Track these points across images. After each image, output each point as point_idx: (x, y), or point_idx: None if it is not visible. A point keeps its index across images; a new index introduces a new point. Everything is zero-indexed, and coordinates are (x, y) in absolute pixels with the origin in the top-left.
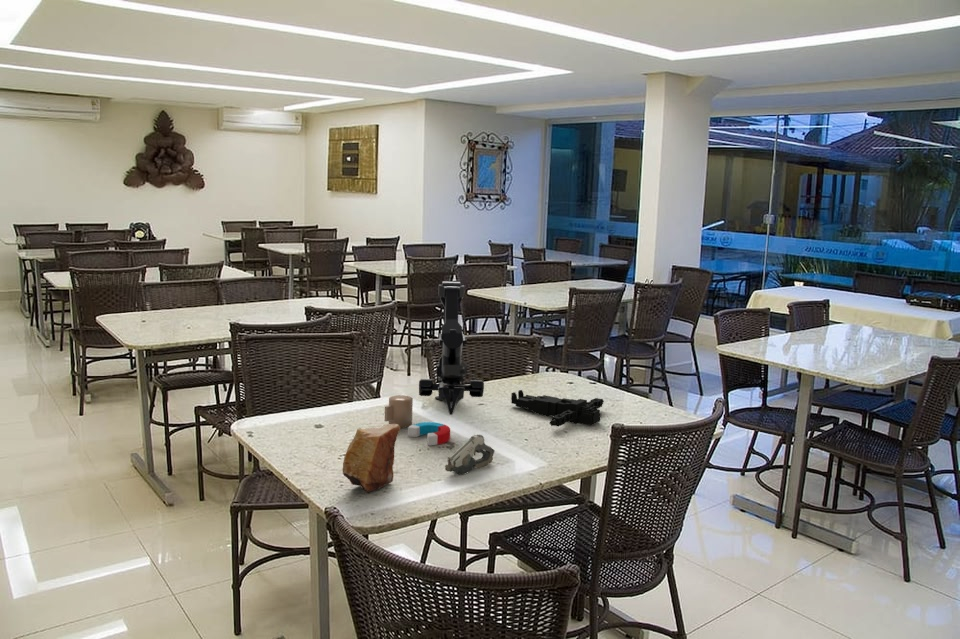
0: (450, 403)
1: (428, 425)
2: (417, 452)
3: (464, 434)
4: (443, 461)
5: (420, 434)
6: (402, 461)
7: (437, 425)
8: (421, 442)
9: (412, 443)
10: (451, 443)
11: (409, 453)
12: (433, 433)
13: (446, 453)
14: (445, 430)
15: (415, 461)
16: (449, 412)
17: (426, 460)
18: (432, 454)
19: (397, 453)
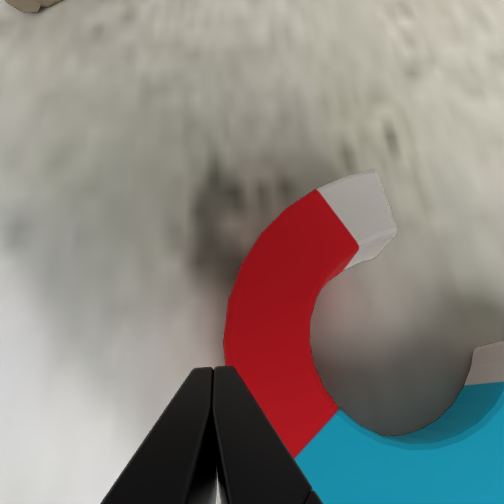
0: (223, 474)
1: (439, 440)
2: (396, 107)
3: (105, 473)
4: (246, 19)
5: (460, 394)
6: (438, 9)
7: (353, 439)
8: (412, 256)
9: (464, 233)
10: (212, 257)
11: (435, 93)
12: (352, 223)
13: (237, 106)
14: (263, 302)
15: (379, 12)
16: (235, 369)
17: (329, 24)
18: (311, 89)
19: (495, 88)
